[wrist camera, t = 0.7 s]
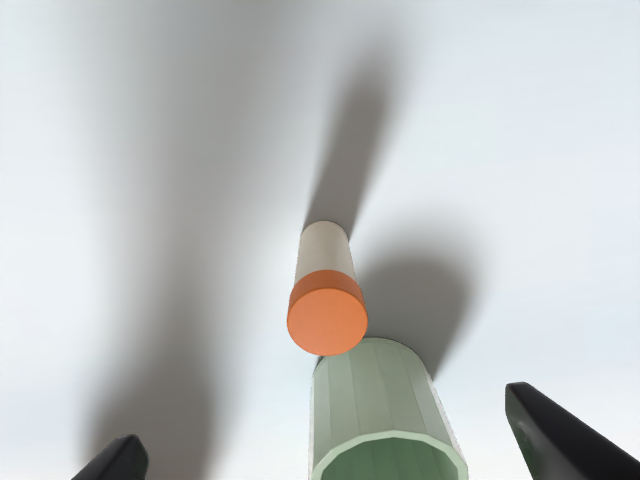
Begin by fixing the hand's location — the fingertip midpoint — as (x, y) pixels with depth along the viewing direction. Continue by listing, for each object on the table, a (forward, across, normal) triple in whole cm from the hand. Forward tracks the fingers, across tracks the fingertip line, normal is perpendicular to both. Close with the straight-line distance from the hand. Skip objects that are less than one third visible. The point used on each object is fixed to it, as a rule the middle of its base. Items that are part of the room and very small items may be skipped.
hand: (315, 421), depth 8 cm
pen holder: (+12, -1, +12) cm, 17 cm away
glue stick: (+13, 0, +1) cm, 13 cm away
